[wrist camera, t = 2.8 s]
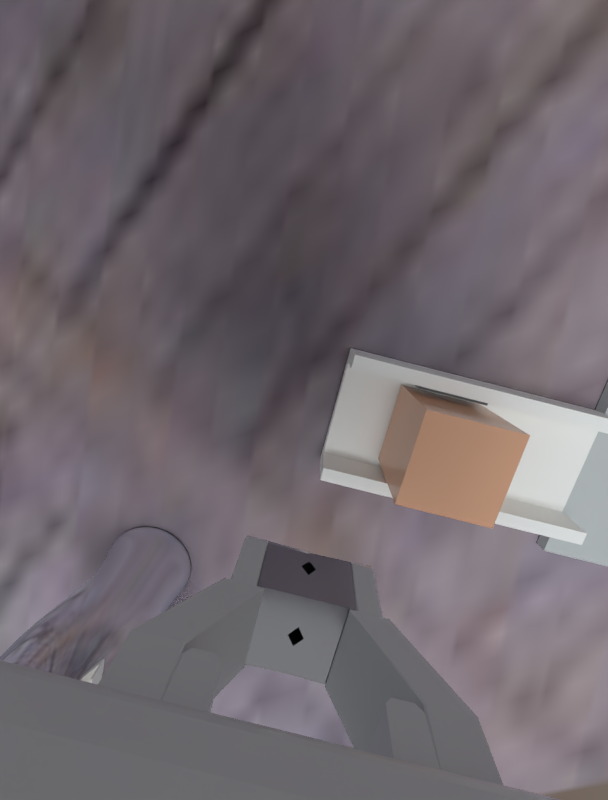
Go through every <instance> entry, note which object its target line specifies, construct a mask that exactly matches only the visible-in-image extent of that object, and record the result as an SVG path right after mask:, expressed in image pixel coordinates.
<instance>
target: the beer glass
mask: <svg viewBox="0 0 608 800" xmlns="http://www.w3.org/2000/svg"><path fill="white" fill-rule="evenodd" d="M190 571H191V563H190V558H189V555H188V553H187V551H186V549H185V548H184V546H183V545H182V544H181V542H180V541H179V540H178V539H176V538H175V537H174V536H172V535H171V534H169V533H168V532H165V531H163V530H160V529H157V528H152V527H138V528H134V529H131V530H128V531H126V532H125V533H123V534H122V535H120V536H119V537H118V538H117V539H116V540H115V541H114V543H113V544H112V545H111V547H110V549H109V551H108V552H107V554H106V556H105V558H104V560H103V562H102V564H101V565H100V567H99V568H98V570H97V571H96V572H95V574H94V575H93V576H92V577H91V578H90V579H89V580H88V581H87V582H85V583H84V584H83V585H82V586H81V587H80V588H78V589H77V590H76V591H75V592H73V593H72V594H71V595H70V596H68V597H67V598H66V599H65V600H63V601H62V602H61V603H59V604H58V605H57V606H56V607H55V608H53V609H52V610H51V611H50V612H48V613H47V614H46V615H45V616H43V617H42V618H41V619H40V620H39V621H37V622H36V623H35V624H34V625H33V626H32V627H31V628H30V629H28V630H27V631H26V632H25V633H24V634H23V635H22V636H21V637H19V638H18V639H17V640H16V641H15V642H14V643H13V644H12V645H11V646H10V647H9V648H8V649H7V650H6V651H5V652H4V653H3V654H2V656H1V657H0V660H1V661H5V662H9V663H13V664H17V665H21V666H25V667H29V668H34V669H38V670H42V671H46V672H50V673H54V674H58V675H62V676H66V677H70V678H74V679H78V680H82V681H86V682H90V683H94V684H98V683H99V682H100V680H101V678H102V677H103V675H104V674H105V672H106V670H107V669H108V667H109V665H110V664H111V662H112V661H113V659H114V657H115V656H116V654H117V652H118V651H119V649H120V648H121V646H122V644H123V643H124V641H125V639H126V638H127V636H128V635H129V633H130V631H131V630H132V629H134V628H136V627H138V626H139V625H141V624H143V623H145V622H147V621H148V620H150V619H152V618H154V617H156V616H157V615H159V614H161V613H163V612H165V611H166V610H167V609H168V608H169V606H170V605H171V604H172V602H173V601H174V600H175V599H176V597H177V596H178V595H179V594H180V593H181V591H182V590H183V589H184V587H185V586H186V584H187V582H188V580H189V577H190Z"/></svg>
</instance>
